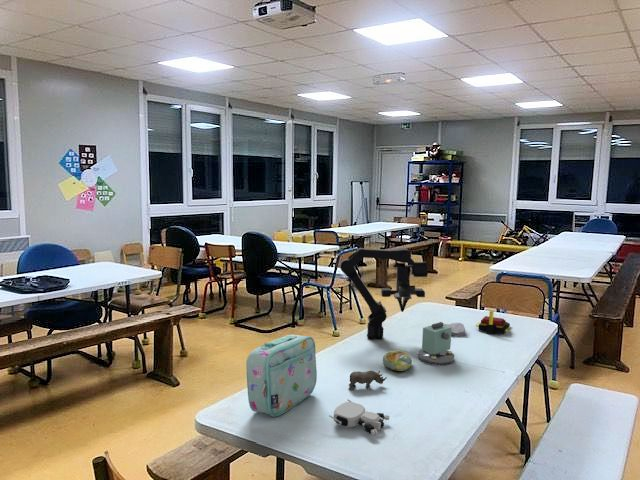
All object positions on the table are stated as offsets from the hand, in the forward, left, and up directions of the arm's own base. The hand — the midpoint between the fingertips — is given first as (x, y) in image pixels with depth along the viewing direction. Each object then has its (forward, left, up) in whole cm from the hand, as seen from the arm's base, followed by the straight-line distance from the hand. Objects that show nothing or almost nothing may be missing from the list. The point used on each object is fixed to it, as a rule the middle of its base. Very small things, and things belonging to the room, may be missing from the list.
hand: (402, 311), depth 225 cm
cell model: (-6, -35, -12) cm, 38 cm away
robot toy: (-23, -81, -12) cm, 85 cm away
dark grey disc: (+10, -26, -12) cm, 30 cm away
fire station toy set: (+46, +16, -13) cm, 50 cm away
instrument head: (+11, -27, -8) cm, 30 cm away
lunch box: (-46, -68, -12) cm, 83 cm away
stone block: (+24, +8, -12) cm, 29 cm away
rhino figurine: (-19, -54, -12) cm, 59 cm away
